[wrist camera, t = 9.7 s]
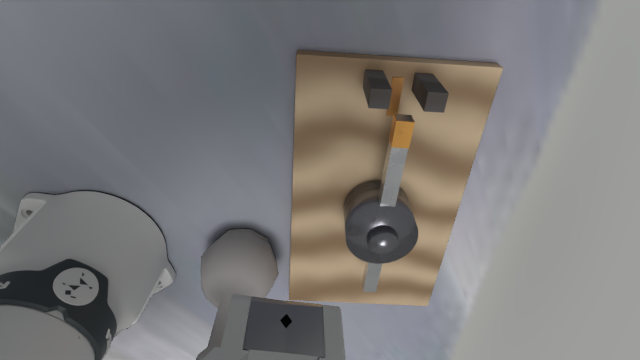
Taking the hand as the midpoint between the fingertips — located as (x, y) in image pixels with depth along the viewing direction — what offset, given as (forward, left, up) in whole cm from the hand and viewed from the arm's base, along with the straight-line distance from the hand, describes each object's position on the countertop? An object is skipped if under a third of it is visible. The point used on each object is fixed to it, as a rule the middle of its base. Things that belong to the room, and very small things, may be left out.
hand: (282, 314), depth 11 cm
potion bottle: (-23, -10, -28) cm, 37 cm away
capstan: (-5, -14, -26) cm, 30 cm away
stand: (-7, -16, -28) cm, 33 cm away
